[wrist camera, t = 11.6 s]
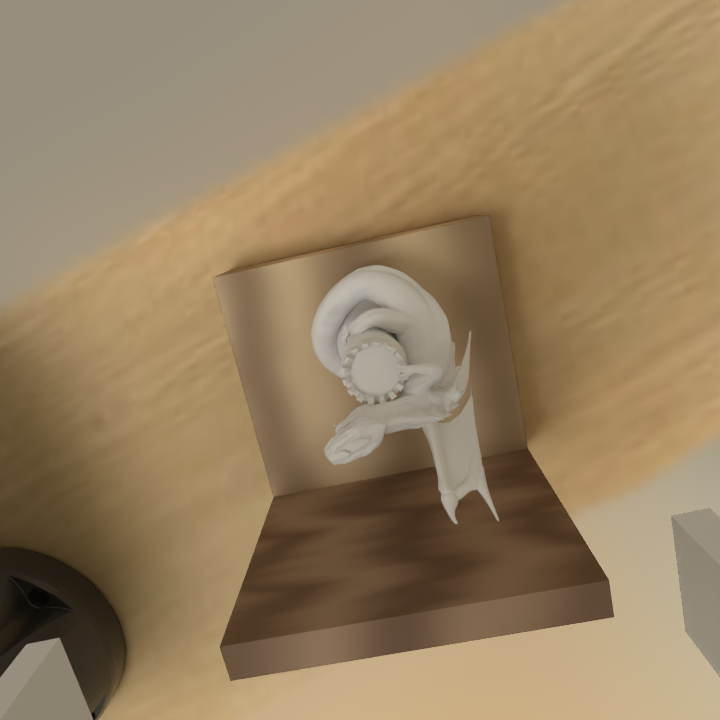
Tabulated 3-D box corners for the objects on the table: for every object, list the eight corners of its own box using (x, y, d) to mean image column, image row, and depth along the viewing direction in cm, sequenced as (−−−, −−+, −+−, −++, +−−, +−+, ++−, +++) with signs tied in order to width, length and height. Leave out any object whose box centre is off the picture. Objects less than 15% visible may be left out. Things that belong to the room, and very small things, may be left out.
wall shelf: (288, 494, 39) (230, 680, 24) (228, 271, 36) (114, 320, 20) (518, 450, 38) (614, 617, 23) (478, 215, 35) (558, 221, 19)
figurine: (287, 312, 33) (237, 371, 21) (406, 232, 32) (422, 247, 20) (396, 466, 35) (404, 596, 23) (511, 396, 34) (582, 496, 22)
